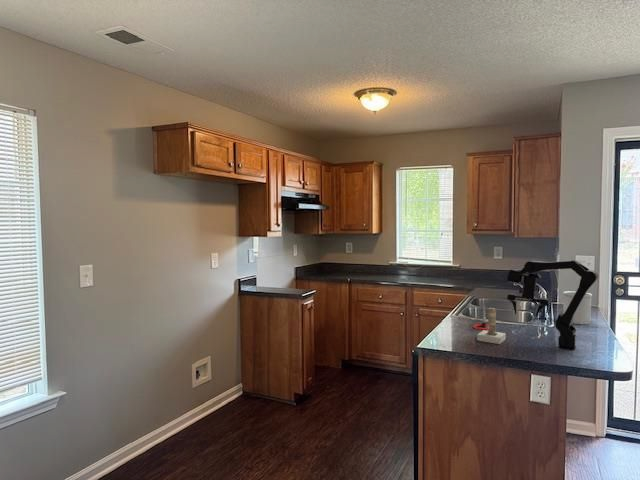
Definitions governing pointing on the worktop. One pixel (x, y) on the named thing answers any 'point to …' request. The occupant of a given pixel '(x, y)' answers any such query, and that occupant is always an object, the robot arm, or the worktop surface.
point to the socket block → (491, 337)
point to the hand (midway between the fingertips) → (525, 315)
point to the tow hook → (482, 322)
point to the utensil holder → (583, 310)
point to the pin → (491, 321)
